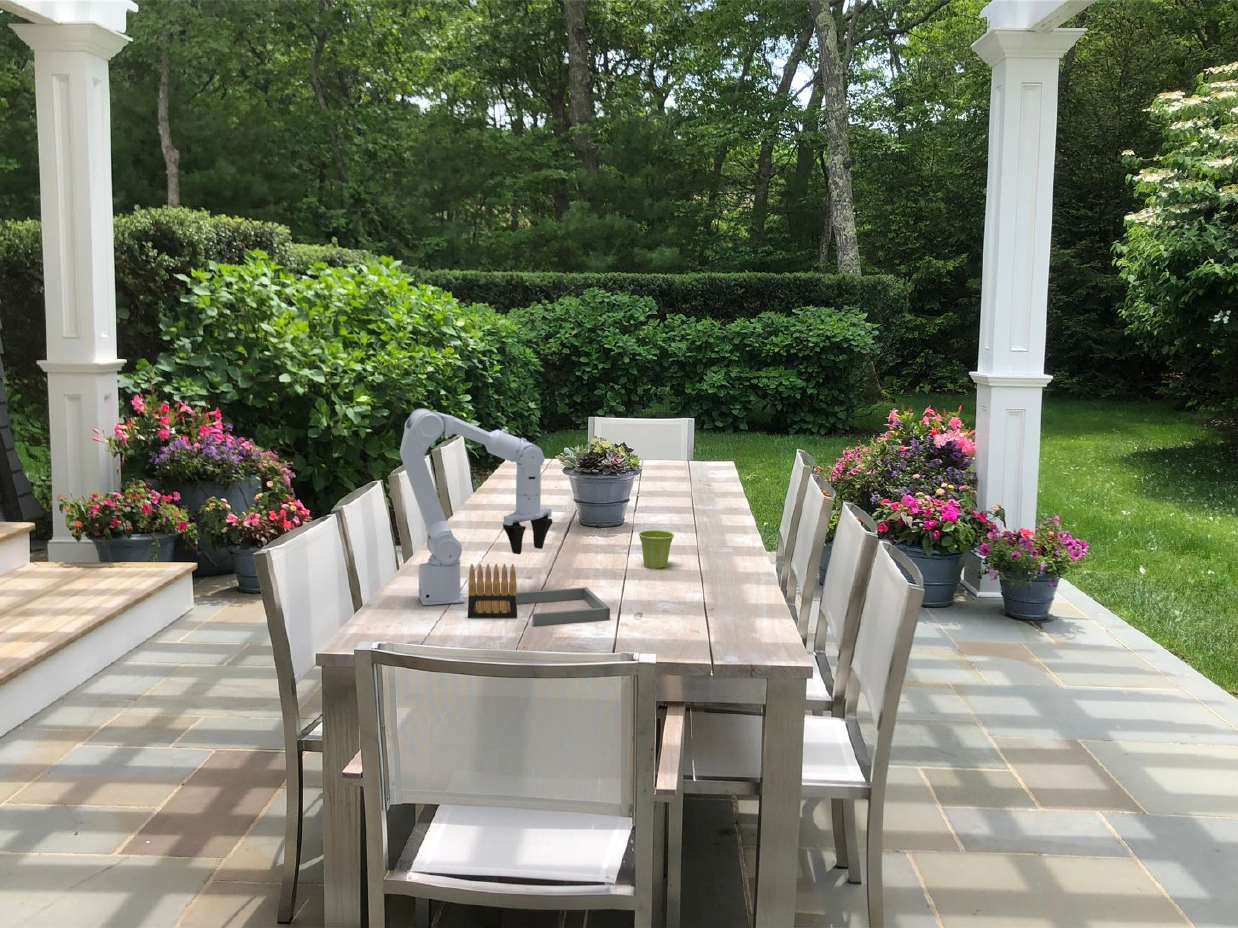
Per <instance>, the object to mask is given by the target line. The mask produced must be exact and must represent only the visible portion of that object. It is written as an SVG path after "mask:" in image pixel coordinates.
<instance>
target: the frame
mask: <svg viewBox="0 0 1238 928" xmlns="http://www.w3.org/2000/svg"><path fill="white" fill-rule="evenodd" d="M577 600H584V601H585V602H586V603H587V604H588V605H589V606H590V605H591V606H592V607H591V606H590V607H591V608H584V609H583V608H581V609H569V610H560V611H559V610H558V611H557V610H556V611H546V612H545V611H544V612H533V613H532V617H531V618H532V621H531V622H532V626H533V627H537V626H538V627H539V626H550V625H561V624H562V625H563V624H572V623H573V624H575V623H585V622H587V623H588V622H597V621H599V620H600V621H606V620H605V619H610V620H611V608H610V607H609V606H608V605H607V604H606V603H605V602H603V600H602V599H600V598H599V597H598V596H597V595H596V594H595V593H594V592H593V591H591V589H590V588H589V587H587V586H585V587H584V586H583V587H574V588H571V587H570V588H557V589H542V590H531V591H517V605H524V604H537V603H550V602H564V601H577ZM600 621H599V622H600Z"/></svg>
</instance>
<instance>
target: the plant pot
mask: <svg viewBox="0 0 1238 928" xmlns="http://www.w3.org/2000/svg"><path fill="white" fill-rule="evenodd" d="M638 536H639V539H640V542H641V550H642V562H643V566H644V567H647V568H648V569H655V570H656V569H658V570H659V569H661V568H667V566H668V562H669V555H670V549H671V544H672V542H673V538H674V537H675V534H674V533H673V532H671V531H666V530H658V529H657V530H656V529H653V530H652V529H651V530H650V529H649V530H643V531H640V532H638Z"/></svg>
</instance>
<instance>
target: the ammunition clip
mask: <svg viewBox="0 0 1238 928" xmlns="http://www.w3.org/2000/svg"><path fill="white" fill-rule="evenodd" d="M509 571H510V572H509V580H508V567H507V565H506V564H505V563H503V565H502V569H501V580H500V570H499V566H498V563H495V565H494V568H493V578H492V571H491V565H490V564H489V563H487V565H486V568H485V577H484V572H483V566H482V563H479V564H478V567H477V573H476V571H475V567H474V564H473V563H471V564H470V567H469V571H468V572H469V578H468V583H467V585H468V590H467V592H468V596H467V597H468V603H467V619H518V604H517V592H518V590H517V589H518V588H517V585H518V584H517V575H516V568H515V564H514V563H512V564H511V566H510V570H509ZM476 574H477V578H476ZM484 579H485V580H484ZM492 579H493V580H492Z"/></svg>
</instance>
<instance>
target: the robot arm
mask: <svg viewBox="0 0 1238 928" xmlns="http://www.w3.org/2000/svg"><path fill="white" fill-rule="evenodd" d="M451 435H457V436H460V437H463V438H464V439H468V440H470V441H474V442H476V443H478V444H481V445H484V447H485V449H486V451H487V453H489V454H492V455H494V456H496V457H499V458H501V459H504V460H506V461H508V462H511V463H515V464H516V474H515V475H516V478H515V479H516V480H515V481H516V483H515V487H516V488H515V489H516V490H515V491H516V492H515V511H514V512H512V513H509V514H507V515H505V516H503V523H502V528H503V530H504V531H505V533H506V535H507V537H508V541H509V544H510V548H511V552H512V554H515V555H521V554H522V551H523V537H524V534H525V531H526V528H527V527H526V526H525V525H521V523H525V522H530V524H531V528H532V533H533V535H532V537H533V547H534V548H535V549H539V550H543V548H544V545H545V540H546V537H547V534H548V531H549V529H550V528H551V526H552V524H553V518H552V508H548V507H544V508H541V494H542V493H541V492H542V491H541V490H542V489H541V488H542V487H541V486H542V479H541V478H542V475H541V473H542V472H541V469H542V468H541V467H542V465H544V462H545V461H546V460H545V459H546V458H545V456H544V452H543V450H542V448H541V447H539V446H538V445H536V444H534V443H532V442H530V441H528V440H527V438H524V437H521V438H519V437H517V436H514V435H512V434H510V433H509V430H506V429H504V428H502V429H501V430H500V429H495V430H493V431H488V430H485V429H482V428H480V427H478V426H475V425H474V424H471V423H468V422H467V421H464V420H462V419H460V418H457V417H456V416H453V415H449V414H446V413H442V412H439V411H438V412H437V411H434V412H432V411H431V410H430V409H427V408H418V409H415V410H414V411H413V412H411V414H410V415H409V417H408V418H407V419H406V420H405V423H404V431H403V436H402V439H401V445H400V449H399V455H400V458H401V461H402V465H403V466H404V467H403V468H404V470H405V473H406V475H407V478H408V480H409V484H410V486H411V489H412V493H413V495H414V497H415V500H416V503H417V505H418V508H419V511H420V514H421V516H422V517H421V518H423V519H422V520H423V522H424V525H425V532H426V537H427V540H426V548H427V549H428V551H429V553H430V556H429V558H428V559H427V560H428V561H427V562H424V563H420V564H419V565H418V599H419V600H420V603H421V604H422V606H432V605H433V606H434V605H443V604H457V603H465V601H466V600H465V599H464V597H463V596H462V594H461V593H462V591H461V555H462V552H463V547H462V544H461V542H460V541H459V540H458V539H457V538H456V537H455V536H454V534H453V532H452V529H451V527H450V526H449V522H447V519H446V517H445V514H444V511H443V508H442V505H441V502H440V500H439V497H438V493H437V490H436V488H435V485H434V482H433V480H432V477H431V474H430V472H429V467H428V465H427V463H426V459H425V455H426V453H427V451H428V450H429V448H430V446H431V445H432V444H433V443H435V441H436V440H438V439H439V438H440V437H441V436H444V437H447V436H451Z"/></svg>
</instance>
